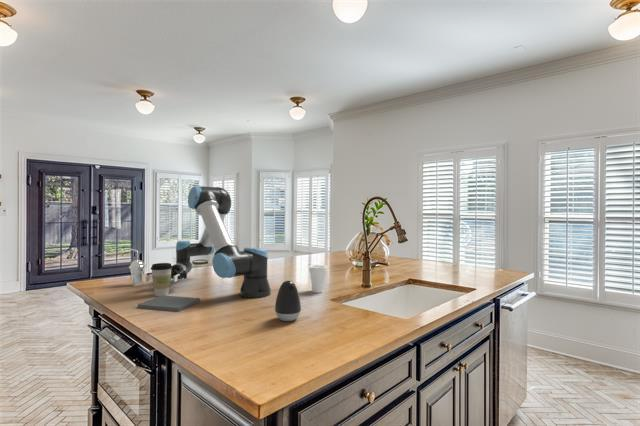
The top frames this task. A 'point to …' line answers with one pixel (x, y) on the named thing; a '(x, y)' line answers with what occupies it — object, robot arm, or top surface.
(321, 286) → the foam cup
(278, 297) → the black egg shaped speaker
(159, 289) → the coffee cup
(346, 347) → the top surface
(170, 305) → the mat
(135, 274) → the cup with straw
